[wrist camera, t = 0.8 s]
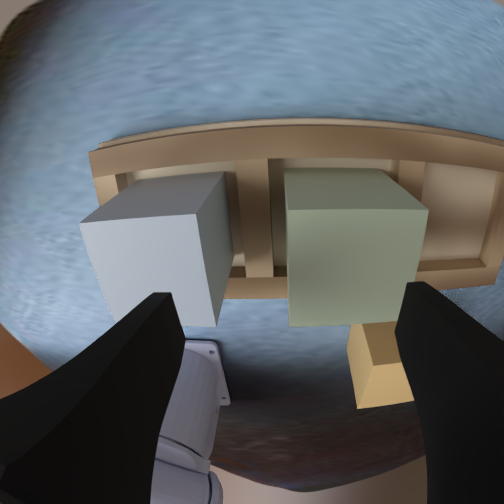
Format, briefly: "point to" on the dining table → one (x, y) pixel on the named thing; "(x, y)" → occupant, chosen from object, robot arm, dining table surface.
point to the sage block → (349, 245)
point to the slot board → (328, 155)
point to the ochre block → (376, 365)
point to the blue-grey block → (164, 245)
